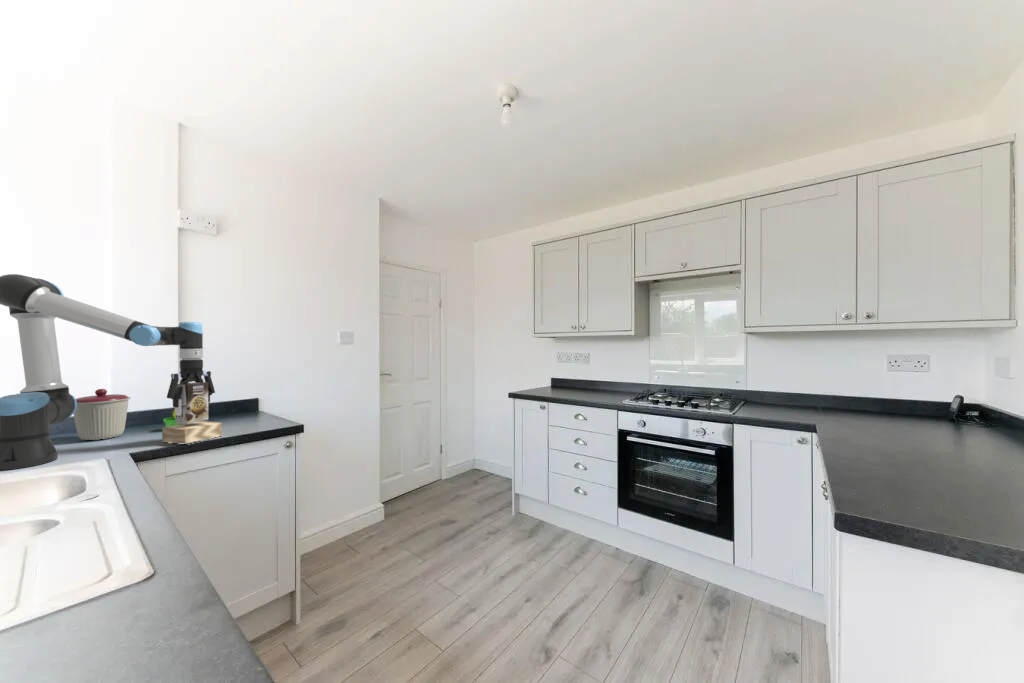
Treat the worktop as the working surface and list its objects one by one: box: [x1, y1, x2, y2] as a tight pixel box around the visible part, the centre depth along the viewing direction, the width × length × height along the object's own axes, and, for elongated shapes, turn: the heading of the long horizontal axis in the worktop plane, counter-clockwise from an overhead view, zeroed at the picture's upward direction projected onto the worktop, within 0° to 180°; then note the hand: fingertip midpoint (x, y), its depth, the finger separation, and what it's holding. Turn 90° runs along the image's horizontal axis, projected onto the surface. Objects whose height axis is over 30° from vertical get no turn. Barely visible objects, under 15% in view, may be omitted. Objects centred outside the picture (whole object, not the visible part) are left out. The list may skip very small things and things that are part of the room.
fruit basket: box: [163, 408, 179, 427], centre depth 186 cm, size 11×9×11 cm
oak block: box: [161, 420, 223, 444], centre depth 164 cm, size 14×14×6 cm
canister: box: [72, 388, 132, 441], centre depth 169 cm, size 18×18×21 cm
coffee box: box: [176, 381, 209, 424], centre depth 164 cm, size 9×6×16 cm
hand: (192, 413), depth 164 cm, fingers closed on coffee box, 9 cm apart
